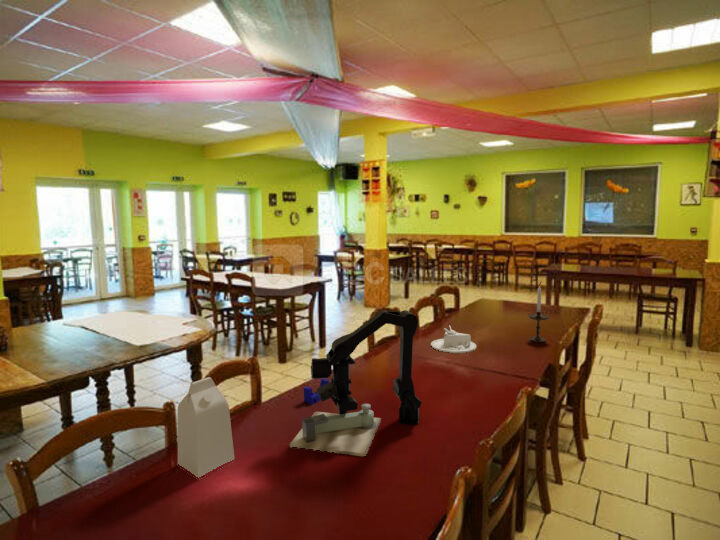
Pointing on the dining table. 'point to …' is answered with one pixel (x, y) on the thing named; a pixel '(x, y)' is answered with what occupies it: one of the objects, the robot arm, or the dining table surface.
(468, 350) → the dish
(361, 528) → the dining table surface
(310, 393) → the cable clip
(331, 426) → the latch bar
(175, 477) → the dining table surface
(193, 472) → the milk
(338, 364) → the robot arm
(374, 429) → the base board
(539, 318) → the candlestick
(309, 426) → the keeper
